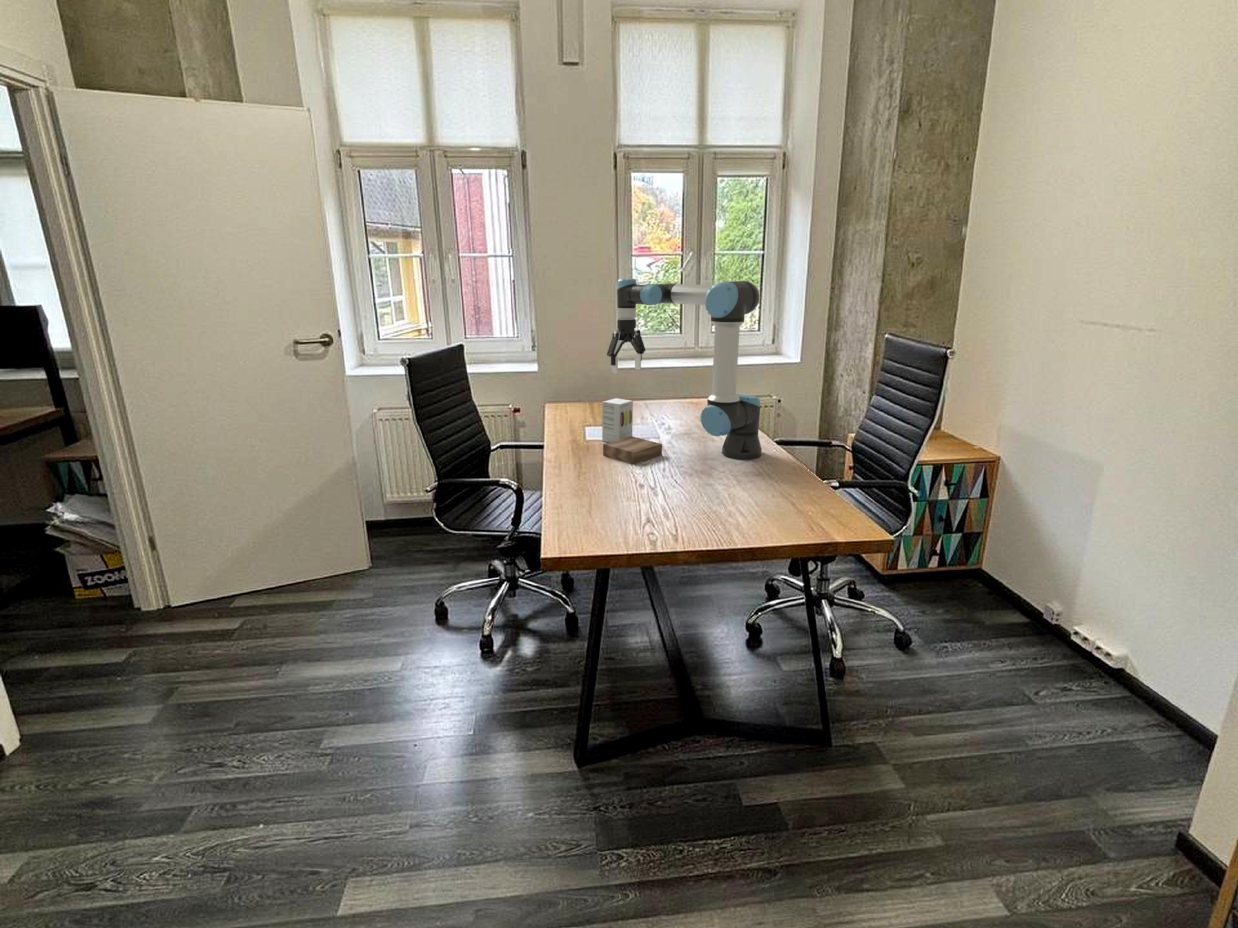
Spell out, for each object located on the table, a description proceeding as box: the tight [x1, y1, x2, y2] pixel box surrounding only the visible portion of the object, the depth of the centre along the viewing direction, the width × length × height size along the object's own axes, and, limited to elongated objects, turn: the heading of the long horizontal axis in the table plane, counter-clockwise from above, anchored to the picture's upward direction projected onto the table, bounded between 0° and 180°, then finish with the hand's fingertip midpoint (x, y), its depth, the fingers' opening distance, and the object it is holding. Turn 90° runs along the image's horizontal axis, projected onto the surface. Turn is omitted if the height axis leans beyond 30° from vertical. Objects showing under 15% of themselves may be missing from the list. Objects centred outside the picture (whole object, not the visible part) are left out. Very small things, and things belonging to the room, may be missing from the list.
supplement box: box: [601, 398, 634, 443], centre depth 266 cm, size 10×9×17 cm
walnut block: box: [602, 435, 663, 465], centre depth 247 cm, size 16×16×5 cm
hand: (626, 371), depth 265 cm, fingers open, 13 cm apart
